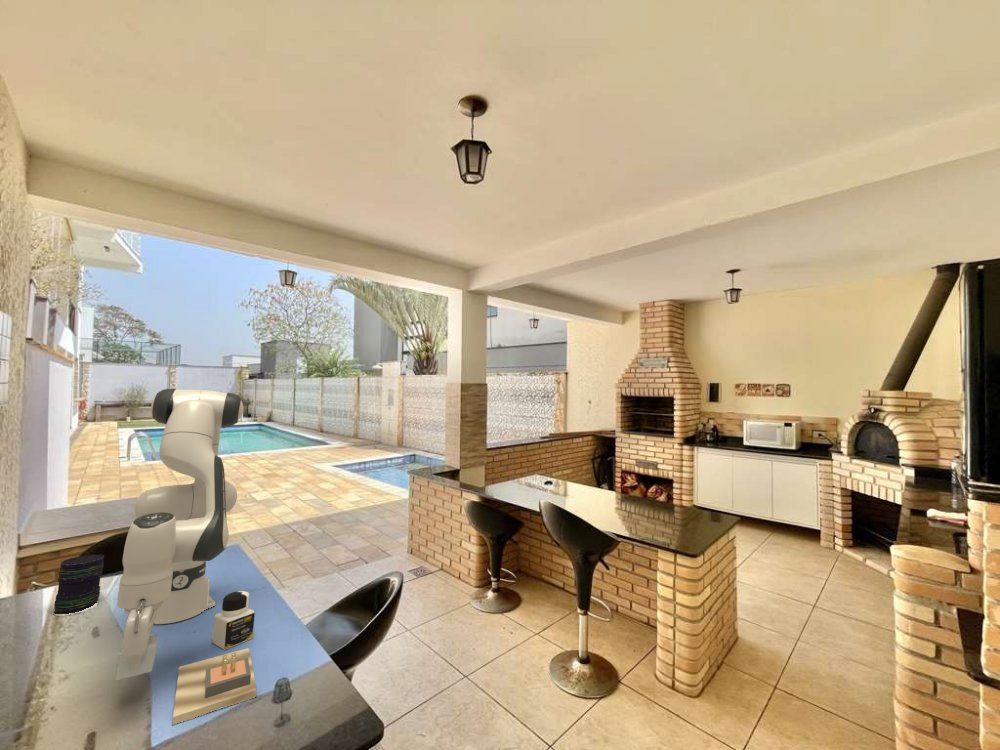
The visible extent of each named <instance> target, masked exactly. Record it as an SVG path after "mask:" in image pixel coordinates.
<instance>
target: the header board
mask: <svg viewBox="0 0 1000 750" xmlns="http://www.w3.org/2000/svg"><path fill="white" fill-rule="evenodd" d="M177 673H178V674H177V681H176V691H175V696H174V697H175V698H174V704H173V705H174V706H173V714H172V722H171V723H172V724H171V726H174V725H173V724H175V725H178V724H181V723H184V722H187V721H189V720H192V719H196V718H199V717H202V716H203V715H202V714H205V713H208V712H211V713H213V712H212V711H214V710H217V709H219V708H221V707H225V706H229V707H231V706H230V705H232V706H235V705H238V704H240V703H244V702H246V701H250V700H253V699H256V698H257V691H258V690H257V685H256V678H255V674H254V667H253V663H252V656H251V652H250V648H249V647H247V648H244V649H240V650H236V651H232V652H228V653H225V654H222V655H217V656H214V657H213V656H212V657H209V658H206V659H203V660H199V661H195V662H192V663H188V664H184V665H180V666H178V672H177ZM255 697H256V698H255ZM252 698H253V699H252ZM249 699H250V700H249ZM237 703H238V704H237ZM234 704H235V705H234ZM217 711H218V710H217ZM214 712H215V711H214ZM208 714H209V713H208ZM201 715H202V716H201ZM205 715H206V714H205ZM198 716H199V717H198ZM195 717H196V718H195ZM183 721H184V722H183ZM180 722H181V723H180ZM177 723H178V724H177Z"/></svg>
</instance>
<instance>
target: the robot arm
mask: <svg viewBox="0 0 1000 750" xmlns="http://www.w3.org/2000/svg"><path fill="white" fill-rule="evenodd" d="M150 410H151V414H152V415H151V416H152V418H153V419H154V420H155V421H156V422H157V423H160V424H162V425H165V427H164V429H163V433H162V436H161V441H160V444H159V452H158V453H159V454H158V456H159V458H160V460H161V462H162V463H163V464H164V466H166V467H167V468H168V469H170V470H172V471H174V472H176V473H179V474H180V475H181V474H182V475H184V476H189V477H191V478H193V479H194V481H193V483H187V484H175V485H172V484H171V485H164V486H163V485H162V486H159V487H156V488H152V489H148V490H144V491H143V492H142V493H141V494H140V495H139V496H138V498H137V500H136V502H135V505H134V514H135V517H136V519H134V520H133V521H132V522H131V525H130V527H129V530H128V532H127V535H126V539H125V544H124V547H123V548H124V549H123V555H122V566H123V572H122V575H121V577H120V580H119V587H118V594H117V603H116V607H118V608H119V609H124V610H123V612H124V614H126V615H128V616H127V619H126V623H125V627H124V633H123V634H124V635H123V641H122V646H121V648H122V659H129V661H130V663H129V670H134V669H138V668H139V667H140V666H141V661H142V655H143V654H144V653H145V652H146V648H147V645H148V641H149V638H150V636H152V634H151V633H152V631H153V627H154V625H164V624H172V623H177V622H180V621H181V622H182V621H186V620H188V619H191V618H193V617H196V616H198V615H200V614H202V613H203V612H205V611H207V610H209V609H211V607H212V608H214V607H215V606H216V601H215V600H214V599H213V598H212V596H211V595H210V587H211V586H210V585H211V584H210V583H211V582H210V581H211V580H210V579H209V578H208V577H206V575H205V574H206V570H207V562H211V561H212V560H213V559H215V558H217V557H218V556H219V555H220V554H222V553H223V552H224V551H225V550H226V547H227V545H228V541H229V535H230V534H229V527H228V523H227V521H228V520H227V513H228V512H230V511H232V509H233V508H234V507H235V505H236V503H237V499H238V491H237V489H236V487H235V486H234V485H233V484H232V483H230V482H229V481H227V479H226V477H225V467H224V463H223V460H222V458H221V457H220V456H218V455H219V454H218V453H219V444H220V438H221V427H222V428H223V429H226V428H227V427H232V426H235V425H236V424H238V423H239V420H240V419H241V418H242V417H243V412H244V404H243V401H242V398H241V396H240V395H238V394H236V393H232V392H227V393H226V392H221V391H217V390H209V389H190V388H189V389H187V388H186V389H184V388H183V389H177V388H163V389H161V390H160V391H158V392H157V393H156V395H155V396H154V397H153V399H152V401H151V405H150ZM213 606H214V607H213ZM208 608H209V609H208ZM206 609H207V610H206ZM204 610H205V611H204ZM201 612H202V613H201Z"/></svg>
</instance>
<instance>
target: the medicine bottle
mask: <svg viewBox="0 0 1000 750" xmlns="http://www.w3.org/2000/svg"><path fill="white" fill-rule="evenodd" d="M249 600H250V593H249V592H248V591H244V590H238V591H233V592H230V593H228V594H227V595H225V596H224V597H223V598H222V607H221V612H219V613H216V614H215V615H214V618H213V619H214V620H213V626H212V627H213V629H212V638H211V642H212V643H213V644H214V645H216V646H217V647H219V648H220V649H222V650H223V651H227V650H229V649H231V648H233V647H235V646H238V645H240V644H242V643H246V642H247V641H250V640H253V638H254V628H255V627H254V625H255V616H256V615H255V613H256V612H255V611H254V610H253V609H251V608H249V603H250V601H249Z"/></svg>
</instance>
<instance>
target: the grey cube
mask: <svg viewBox="0 0 1000 750" xmlns="http://www.w3.org/2000/svg"><path fill="white" fill-rule="evenodd" d="M157 643H158V634H154V635H150V638H149V641H148V645H147V648H146V652H145V653H144V654H143V655H142V661H141V666H140V667H139V668H138V669H134V670H129V663H130V661H129V659H122V647H121V649H120V651H119V654H118V660H117V669H116V676H115V677H116V678H115V681H120V680H124V679H128V678H131V677H136V676H139V675H144V674H146V673H147V674H148V673H150V672H152V671H153V668H154V663H155V659H156V652H157Z"/></svg>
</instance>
